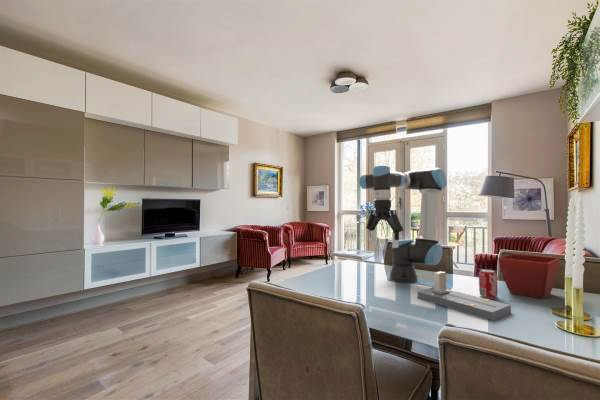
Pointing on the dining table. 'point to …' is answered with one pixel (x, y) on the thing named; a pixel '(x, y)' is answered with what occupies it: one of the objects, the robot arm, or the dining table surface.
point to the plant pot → (529, 274)
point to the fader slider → (440, 283)
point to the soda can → (488, 283)
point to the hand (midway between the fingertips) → (384, 245)
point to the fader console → (467, 303)
